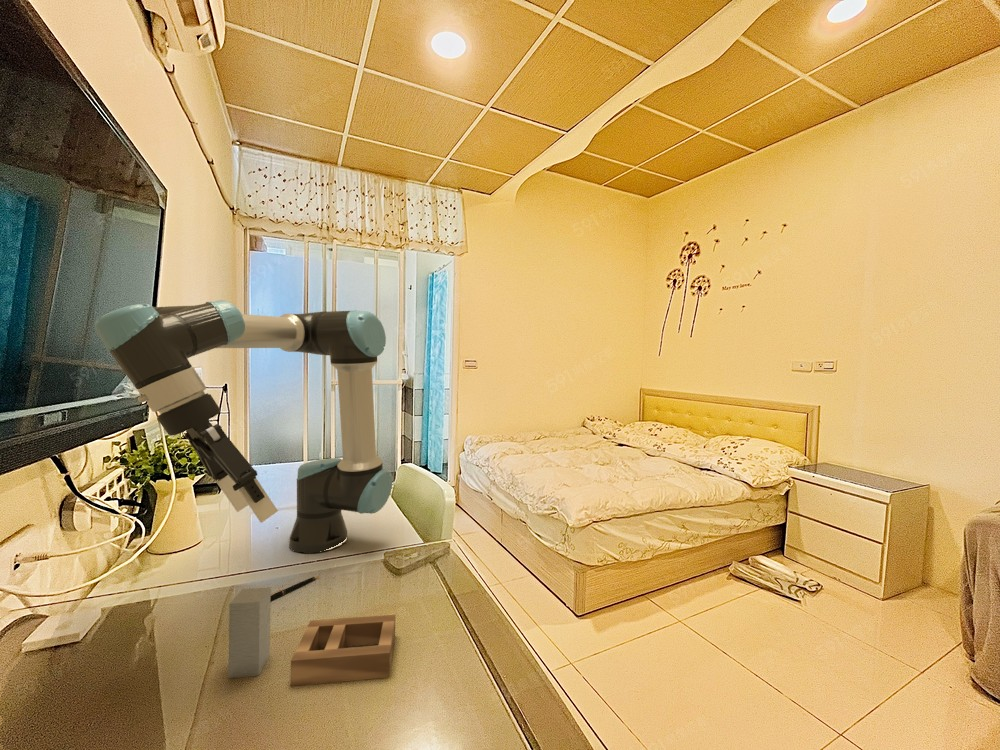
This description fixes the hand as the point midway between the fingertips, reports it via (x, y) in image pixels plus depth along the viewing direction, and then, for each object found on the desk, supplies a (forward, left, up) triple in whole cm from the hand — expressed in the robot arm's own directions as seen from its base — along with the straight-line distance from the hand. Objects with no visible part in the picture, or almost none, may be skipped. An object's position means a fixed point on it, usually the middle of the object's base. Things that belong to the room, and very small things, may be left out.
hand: (256, 511), depth 70 cm
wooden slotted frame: (+2, +16, -25) cm, 30 cm away
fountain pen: (-22, -1, -26) cm, 34 cm away
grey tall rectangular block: (+2, 0, -25) cm, 25 cm away
